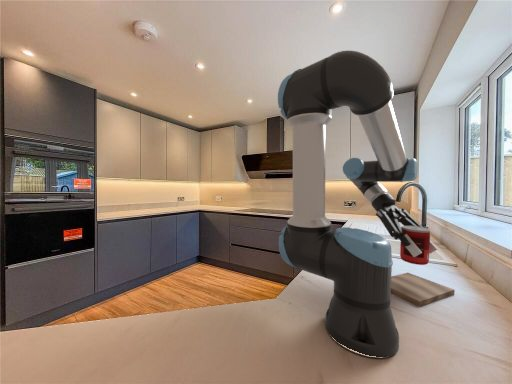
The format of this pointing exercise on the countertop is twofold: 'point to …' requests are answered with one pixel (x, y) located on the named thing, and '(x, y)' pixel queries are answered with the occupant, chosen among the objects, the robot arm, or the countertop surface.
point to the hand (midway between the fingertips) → (426, 253)
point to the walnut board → (418, 289)
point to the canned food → (421, 241)
